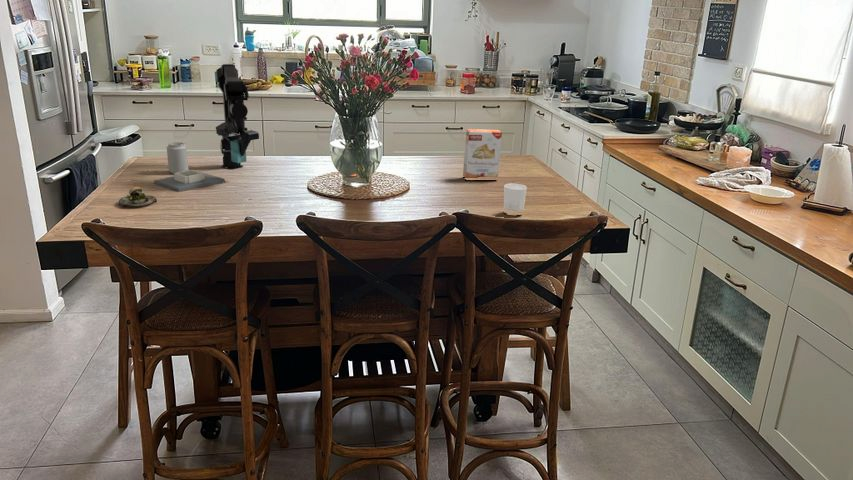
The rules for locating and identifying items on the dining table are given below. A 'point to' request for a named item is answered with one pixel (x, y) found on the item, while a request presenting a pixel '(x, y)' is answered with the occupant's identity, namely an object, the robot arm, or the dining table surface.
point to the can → (177, 157)
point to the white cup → (514, 196)
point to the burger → (136, 198)
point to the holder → (188, 180)
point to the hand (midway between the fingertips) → (238, 154)
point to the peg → (236, 152)
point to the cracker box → (482, 153)
